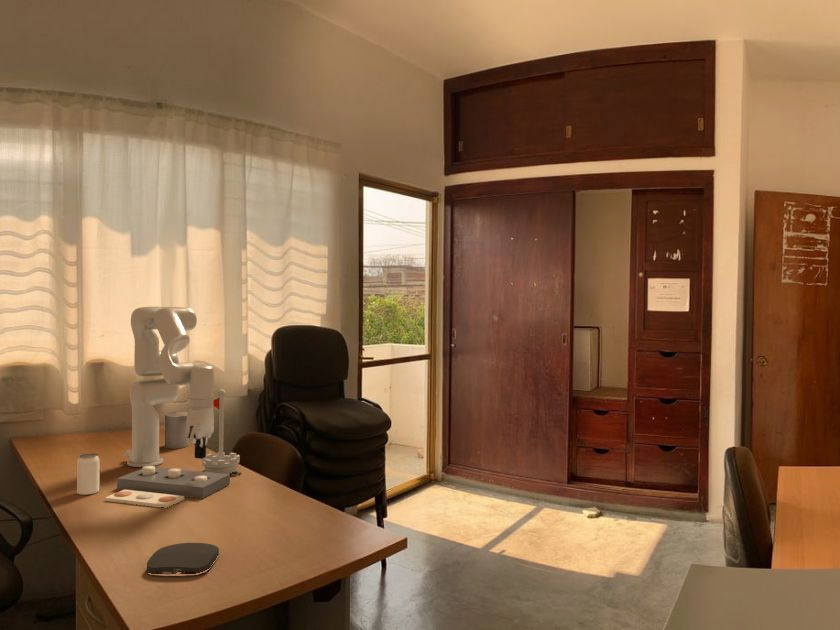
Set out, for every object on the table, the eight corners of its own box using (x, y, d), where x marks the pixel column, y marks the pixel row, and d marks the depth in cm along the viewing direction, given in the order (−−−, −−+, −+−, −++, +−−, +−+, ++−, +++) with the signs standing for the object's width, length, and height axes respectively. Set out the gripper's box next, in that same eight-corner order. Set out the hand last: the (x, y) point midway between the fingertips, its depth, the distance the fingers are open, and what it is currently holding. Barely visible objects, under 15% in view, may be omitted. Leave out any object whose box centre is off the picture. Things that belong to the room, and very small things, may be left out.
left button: (139, 477, 220) (139, 468, 220) (147, 474, 224) (147, 465, 224) (149, 478, 219) (150, 469, 219) (157, 475, 223) (157, 466, 223)
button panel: (117, 488, 215) (117, 478, 215) (148, 476, 231) (148, 466, 231) (202, 498, 207) (203, 487, 207) (229, 484, 223) (229, 474, 223)
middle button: (165, 480, 218) (165, 471, 217) (172, 477, 221) (172, 468, 221) (175, 481, 217) (176, 472, 216) (183, 478, 220) (183, 469, 220)
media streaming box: (222, 553, 165) (222, 541, 165) (205, 578, 151) (205, 565, 151) (164, 553, 165) (164, 541, 165) (141, 578, 150) (141, 565, 150)
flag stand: (244, 467, 245) (245, 387, 244) (231, 476, 232) (232, 392, 231) (211, 465, 246) (211, 386, 246) (195, 475, 233) (196, 391, 233)
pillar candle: (165, 443, 279) (165, 409, 279) (189, 442, 282) (189, 408, 281) (163, 449, 270) (163, 413, 269) (188, 448, 273) (188, 412, 272)
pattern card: (104, 500, 203) (104, 497, 203) (124, 492, 212) (124, 488, 212) (166, 508, 197) (166, 504, 197) (184, 499, 206) (184, 495, 206)
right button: (191, 488, 215) (191, 478, 215) (198, 484, 219) (199, 475, 219) (202, 489, 214) (202, 479, 214) (209, 485, 218) (209, 476, 218)
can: (90, 496, 207) (90, 458, 207) (72, 494, 209) (72, 457, 208) (103, 490, 214) (103, 453, 213) (86, 488, 215) (86, 452, 214)
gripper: (204, 398, 224) (203, 451, 225) (177, 405, 209) (176, 462, 210) (223, 400, 222) (222, 453, 223) (198, 407, 208) (197, 464, 208)
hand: (200, 457), depth 217 cm, fingers closed
